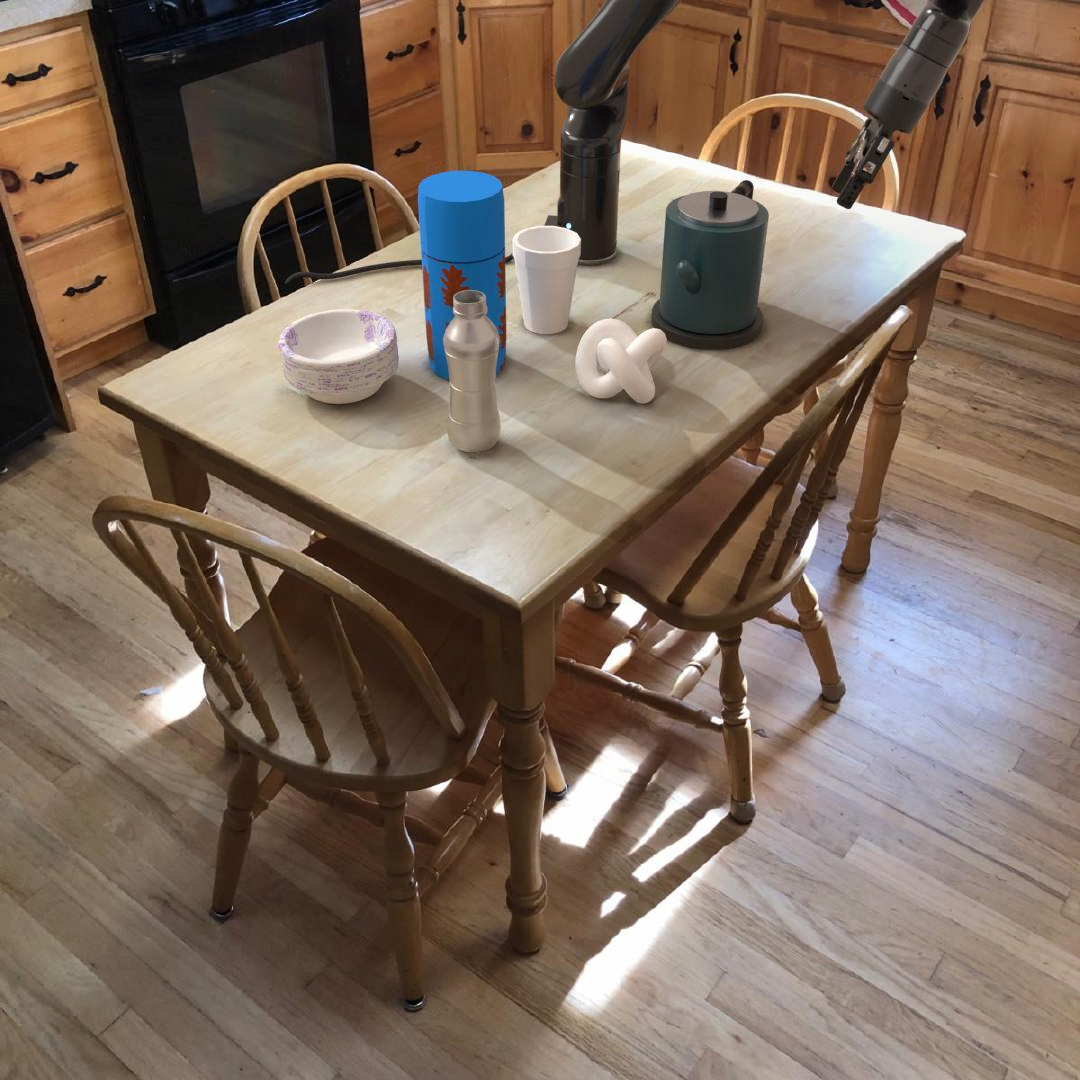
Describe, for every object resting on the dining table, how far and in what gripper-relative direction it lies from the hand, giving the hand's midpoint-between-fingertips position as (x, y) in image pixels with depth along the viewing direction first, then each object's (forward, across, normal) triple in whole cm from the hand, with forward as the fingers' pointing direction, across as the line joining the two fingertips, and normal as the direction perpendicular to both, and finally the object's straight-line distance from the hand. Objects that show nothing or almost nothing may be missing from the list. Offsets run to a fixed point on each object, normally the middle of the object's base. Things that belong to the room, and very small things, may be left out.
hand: (839, 199), depth 165 cm
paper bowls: (+46, +29, -50) cm, 74 cm away
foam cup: (+33, +8, -29) cm, 45 cm away
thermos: (+38, +21, -37) cm, 57 cm away
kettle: (+21, +4, -9) cm, 23 cm away
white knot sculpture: (+30, +26, -16) cm, 43 cm away
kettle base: (+23, +4, -8) cm, 25 cm away
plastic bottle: (+39, +41, -31) cm, 65 cm away
